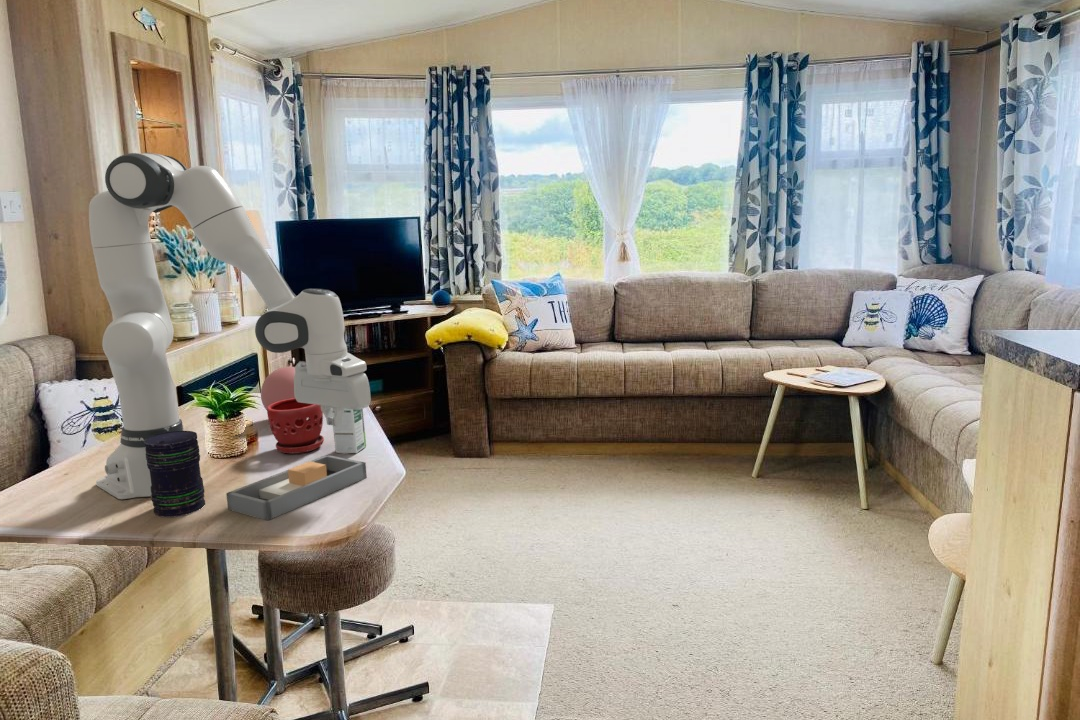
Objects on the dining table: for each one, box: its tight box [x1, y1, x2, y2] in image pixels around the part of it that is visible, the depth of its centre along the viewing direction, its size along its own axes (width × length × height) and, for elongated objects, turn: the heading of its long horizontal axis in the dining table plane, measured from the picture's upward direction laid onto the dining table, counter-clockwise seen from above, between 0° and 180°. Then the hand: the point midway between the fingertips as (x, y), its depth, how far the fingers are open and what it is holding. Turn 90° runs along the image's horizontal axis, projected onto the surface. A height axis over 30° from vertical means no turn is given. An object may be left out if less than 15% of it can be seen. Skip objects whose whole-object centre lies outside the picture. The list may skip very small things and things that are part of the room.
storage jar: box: [144, 430, 206, 518], centre depth 159 cm, size 10×10×15 cm
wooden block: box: [287, 460, 327, 486], centre depth 168 cm, size 5×6×3 cm
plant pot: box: [266, 398, 325, 455], centre depth 197 cm, size 13×13×12 cm
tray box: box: [225, 454, 368, 521], centre depth 167 cm, size 12×27×4 cm, turn 148°
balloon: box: [260, 366, 300, 420], centre depth 224 cm, size 15×20×15 cm
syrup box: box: [331, 407, 367, 454], centre depth 194 cm, size 6×6×14 cm
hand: (334, 424), depth 173 cm, fingers closed
